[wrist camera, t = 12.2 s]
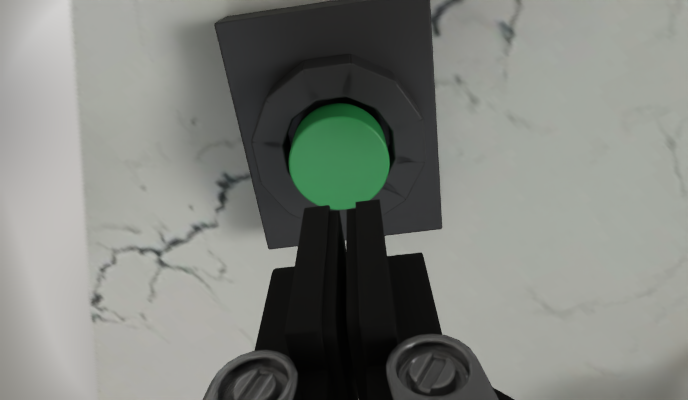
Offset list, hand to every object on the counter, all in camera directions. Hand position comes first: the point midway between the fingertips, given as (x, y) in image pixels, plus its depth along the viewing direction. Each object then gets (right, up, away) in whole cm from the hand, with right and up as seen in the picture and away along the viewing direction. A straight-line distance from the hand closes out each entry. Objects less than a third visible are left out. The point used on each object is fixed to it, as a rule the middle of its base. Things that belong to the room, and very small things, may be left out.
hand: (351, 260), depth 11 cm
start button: (0, +3, +8) cm, 9 cm away
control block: (0, +5, +11) cm, 12 cm away
